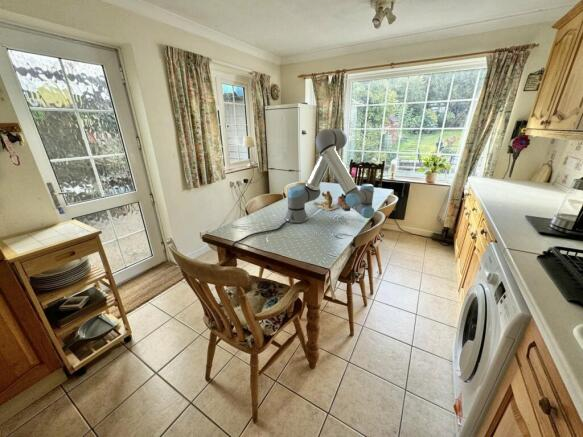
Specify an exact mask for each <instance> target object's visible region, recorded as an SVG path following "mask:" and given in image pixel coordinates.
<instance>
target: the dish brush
mask: <svg viewBox="0 0 583 437" xmlns="http://www.w3.org/2000/svg"><path fill="white" fill-rule="evenodd" d="M344 195H345V194H344ZM345 196H346V195H345ZM351 209H352V208H351V207H350V206H348V205H347V204H344V203H342V205H341V210H342V211H344V212H351Z"/></svg>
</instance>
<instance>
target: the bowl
mask: <svg viewBox="0 0 583 437" xmlns="http://www.w3.org/2000/svg"><path fill="white" fill-rule="evenodd" d="M342 203H343V201H342V197H341V195H340V196H338V197H337V205H339V206H342Z"/></svg>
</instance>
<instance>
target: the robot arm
mask: <svg viewBox="0 0 583 437" xmlns="http://www.w3.org/2000/svg"><path fill="white" fill-rule="evenodd" d="M347 142H348V137H347V133H346V132H345V131H344V130H343V129H340V128H326V129H322V130H320V131H319V132H318V134H317V135H316V137H315V147H316V150H317V152H318V154H319V155H318V157H317V159H316V162H315V164H314V167H313V169H312V171H311V174H310V176H309V178H308V179H307V180H305V181H304V184H303V185H299V184H297V185H293V186H290V187H289V188H287V194H286V195H287V212H286V215H285V221H284V222H283V223H282V224H281V225H280V226H279V227H277V228H273V229H269V230H264V231H259V232H253V233H250V234H247V235H246V236H244V237H241V239H237V240H235V241H234V242H233V243H232V245H231V248H234V247H235V245H236V244H237V243H239V242H243V241H244V240H246V239H248V238H249V237H251V236H254V235H259V234H265V233H270V232H276V231H279V230H280V229H281V228H282V227H283V226H285V225H286V224H287V223H291V224H303V223H305V222H307V221H308V214H307V212H306V209H305V207H306V205H305V204H307V203H310V202H313V201H315V200H317V199H318V198H320V196H321V193H322V192H321V183H322V181H323V179H324V177H325V175H326V173H327V171H328V169H330V170H331V172H332V174H333V176H334V177H335V180H336V181H337V182H338V185H339V186H340V188H341V190H342V191H343V193H341V195H340V196H341V197H342V201H343V203H344V204H347V205H348V206H350V207H351V208H350V209H353V210H354V211H355V212H357V213H358V215H360V216H361V217H362V218H365V219H370V218H372V217H374V215H375V213H376V212H375V208H374V207H373V199H374V192H375V187H374V185H373V184H370V183H362V184H361V185H360V187H359V188H360V189H359V188H358V187H357V184H356V183H355V181H354V179H353V178H352V176H351V174H350V173H349V171H348V169H347V168H346V166H345V164H344V162H343V160H342V159H341V156H339V151H340V150H341V149H343V148H344V147H345V146H346V144H347ZM345 195H346V196H345Z"/></svg>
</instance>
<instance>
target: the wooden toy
mask: <svg viewBox="0 0 583 437" xmlns="http://www.w3.org/2000/svg"><path fill="white" fill-rule="evenodd" d="M321 196H322V197H323V198H324V200H321V201H320V202H317V201H314V202H313V204H315V205H316V207H317V208H320V209H322V210H326V211H328V212H331V211H334V210H338V209H339V208H338V206H334V205H332V204H333V196H332V194H331V192H330V190H327V191H326V192H323V191H322V192H321Z"/></svg>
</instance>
